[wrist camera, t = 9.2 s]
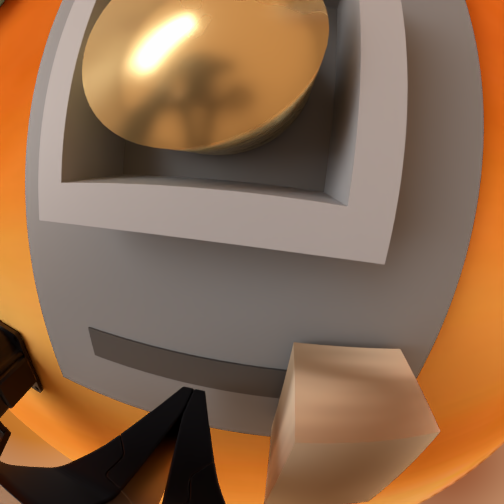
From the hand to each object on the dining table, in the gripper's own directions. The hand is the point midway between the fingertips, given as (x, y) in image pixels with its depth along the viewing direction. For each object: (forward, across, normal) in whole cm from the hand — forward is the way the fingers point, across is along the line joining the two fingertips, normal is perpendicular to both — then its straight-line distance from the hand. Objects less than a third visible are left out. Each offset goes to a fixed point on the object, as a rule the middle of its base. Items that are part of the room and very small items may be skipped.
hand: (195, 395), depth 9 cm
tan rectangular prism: (+1, -5, 0) cm, 5 cm away
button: (+1, 0, -11) cm, 11 cm away
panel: (+3, 0, -10) cm, 10 cm away
